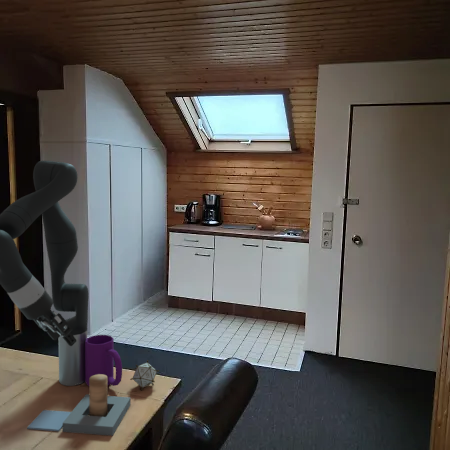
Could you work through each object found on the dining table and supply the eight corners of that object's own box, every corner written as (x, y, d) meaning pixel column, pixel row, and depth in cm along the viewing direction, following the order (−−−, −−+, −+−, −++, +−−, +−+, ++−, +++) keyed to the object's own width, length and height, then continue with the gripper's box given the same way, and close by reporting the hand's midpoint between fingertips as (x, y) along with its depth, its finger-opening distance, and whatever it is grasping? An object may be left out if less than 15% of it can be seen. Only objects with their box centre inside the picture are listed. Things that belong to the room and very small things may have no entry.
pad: (43, 411, 130) (43, 409, 130) (73, 413, 129) (73, 412, 129) (27, 428, 121) (27, 427, 121) (59, 431, 120) (59, 429, 120)
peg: (93, 412, 130) (93, 373, 129) (109, 413, 130) (109, 374, 128) (86, 421, 125) (86, 381, 124) (103, 423, 125) (103, 382, 123)
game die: (144, 394, 149) (150, 364, 154) (160, 393, 144) (166, 362, 149) (122, 387, 144) (129, 357, 149) (138, 387, 139) (145, 355, 144)
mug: (102, 373, 155) (102, 332, 154) (131, 387, 146) (132, 343, 144) (79, 382, 148) (79, 339, 146) (109, 397, 139) (109, 352, 137)
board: (86, 401, 136) (86, 394, 136) (130, 405, 135) (130, 397, 134) (62, 431, 120) (62, 423, 120) (112, 435, 119) (112, 426, 119)
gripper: (55, 289, 110) (89, 335, 117) (29, 284, 119) (62, 326, 126) (31, 311, 105) (68, 356, 113) (6, 303, 115) (41, 346, 122)
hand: (65, 340), depth 119 cm, fingers open, 8 cm apart
